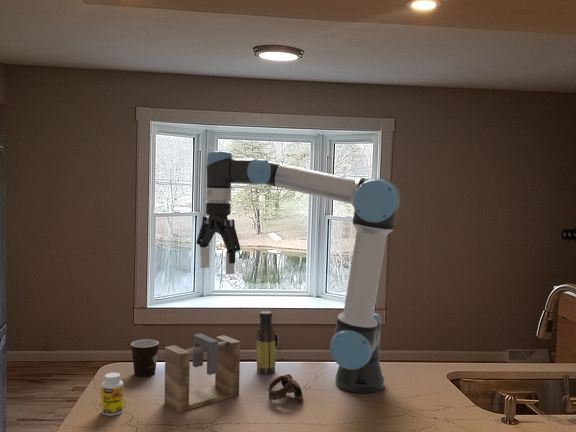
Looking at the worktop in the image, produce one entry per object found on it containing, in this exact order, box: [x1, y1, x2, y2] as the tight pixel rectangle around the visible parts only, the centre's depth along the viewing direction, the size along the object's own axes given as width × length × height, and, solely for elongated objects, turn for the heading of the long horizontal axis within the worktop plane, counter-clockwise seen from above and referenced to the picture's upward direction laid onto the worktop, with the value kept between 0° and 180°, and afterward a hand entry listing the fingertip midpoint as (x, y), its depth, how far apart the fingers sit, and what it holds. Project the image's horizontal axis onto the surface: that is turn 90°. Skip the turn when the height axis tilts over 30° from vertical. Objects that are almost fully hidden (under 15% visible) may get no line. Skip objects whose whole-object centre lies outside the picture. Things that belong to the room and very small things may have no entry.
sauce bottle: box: [256, 310, 276, 375], centre depth 185 cm, size 6×6×20 cm
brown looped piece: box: [267, 373, 305, 404], centre depth 163 cm, size 12×10×8 cm
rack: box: [164, 334, 241, 413], centre depth 161 cm, size 20×8×16 cm, turn 131°
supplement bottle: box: [100, 372, 124, 417], centre depth 151 cm, size 6×6×10 cm
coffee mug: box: [130, 338, 160, 378], centre depth 179 cm, size 12×9×10 cm
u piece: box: [192, 333, 218, 376], centre depth 160 cm, size 9×3×9 cm, turn 42°
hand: (217, 270), depth 174 cm, fingers open, 13 cm apart
